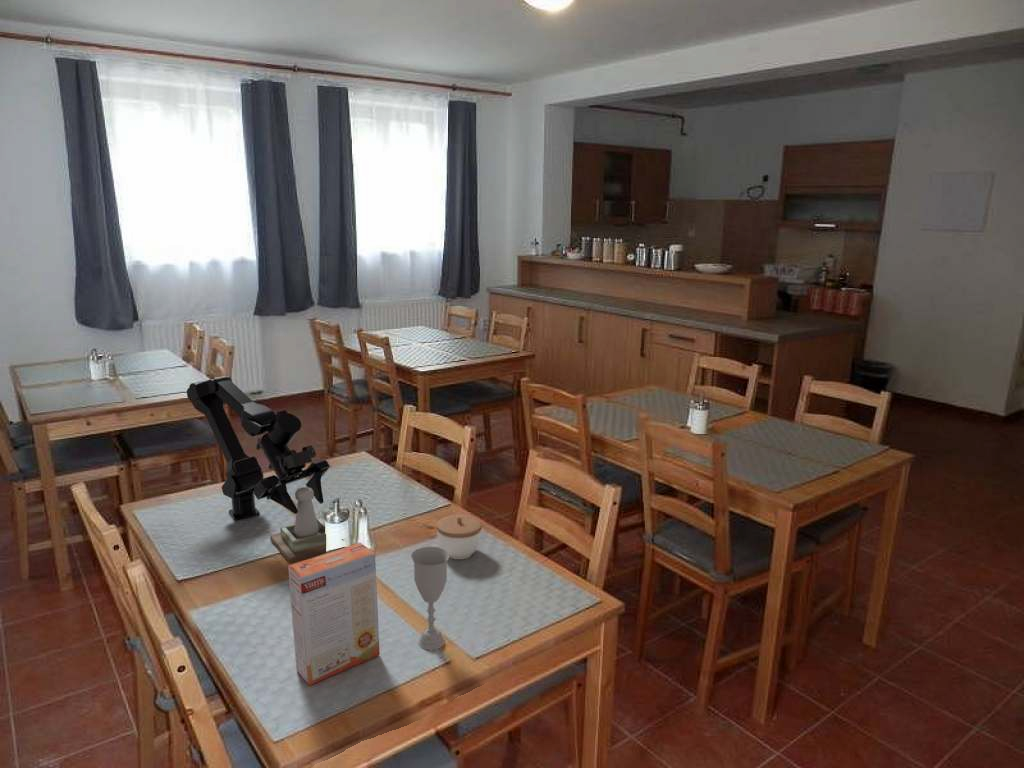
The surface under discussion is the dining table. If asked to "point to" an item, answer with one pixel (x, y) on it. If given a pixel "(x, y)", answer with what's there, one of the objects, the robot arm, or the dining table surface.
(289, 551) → the stand
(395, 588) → the dining table surface
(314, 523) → the salt shaker
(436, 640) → the chalice
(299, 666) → the cracker box
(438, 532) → the lidded jar
